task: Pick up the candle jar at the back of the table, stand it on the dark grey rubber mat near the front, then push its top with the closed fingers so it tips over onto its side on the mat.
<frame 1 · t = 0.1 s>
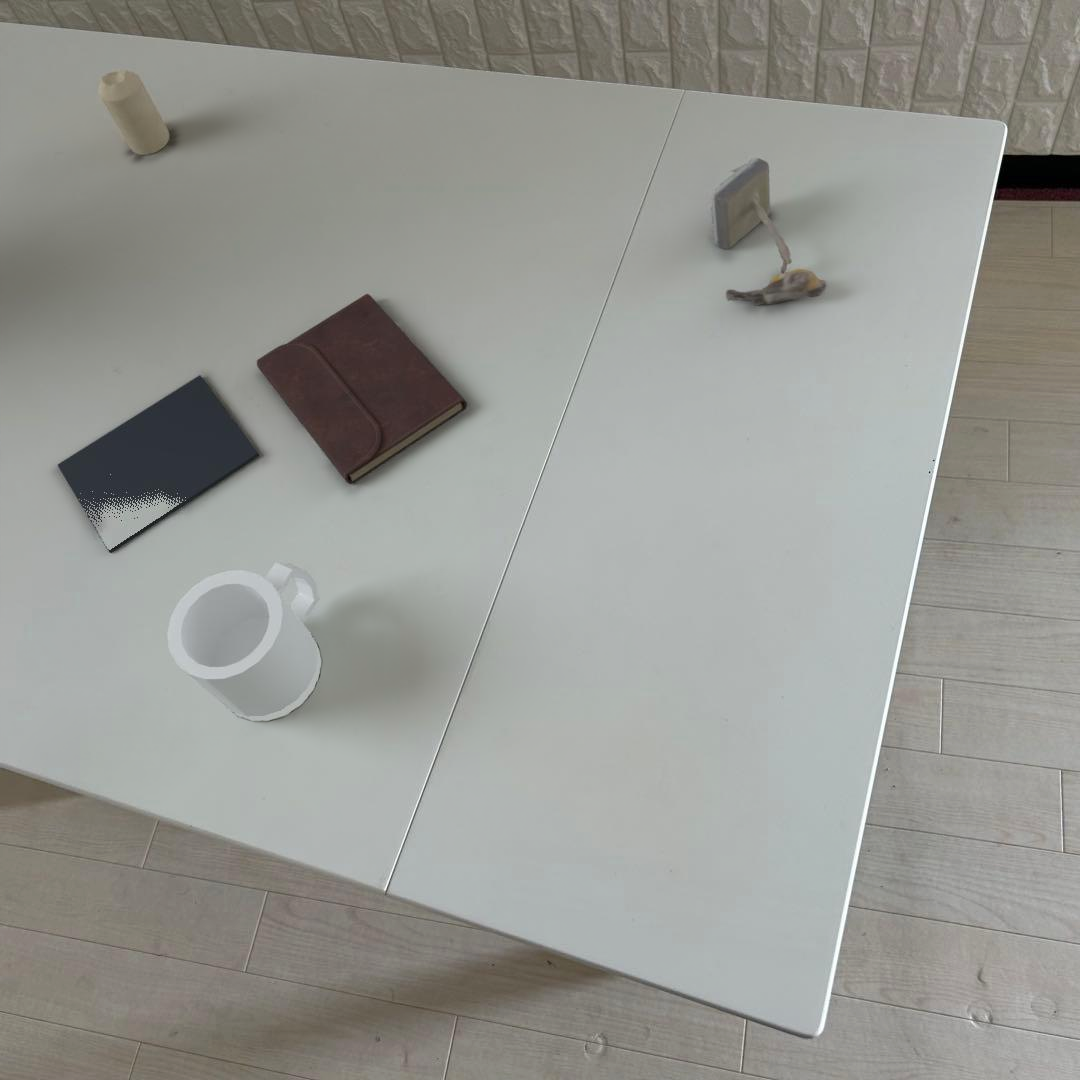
mat: (158, 461, 112), on the table
decorative sculpture: (756, 268, 114), on the table
notebook: (362, 390, 113), on the table
mug: (278, 661, 99), on the table
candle: (150, 142, 139), on the table
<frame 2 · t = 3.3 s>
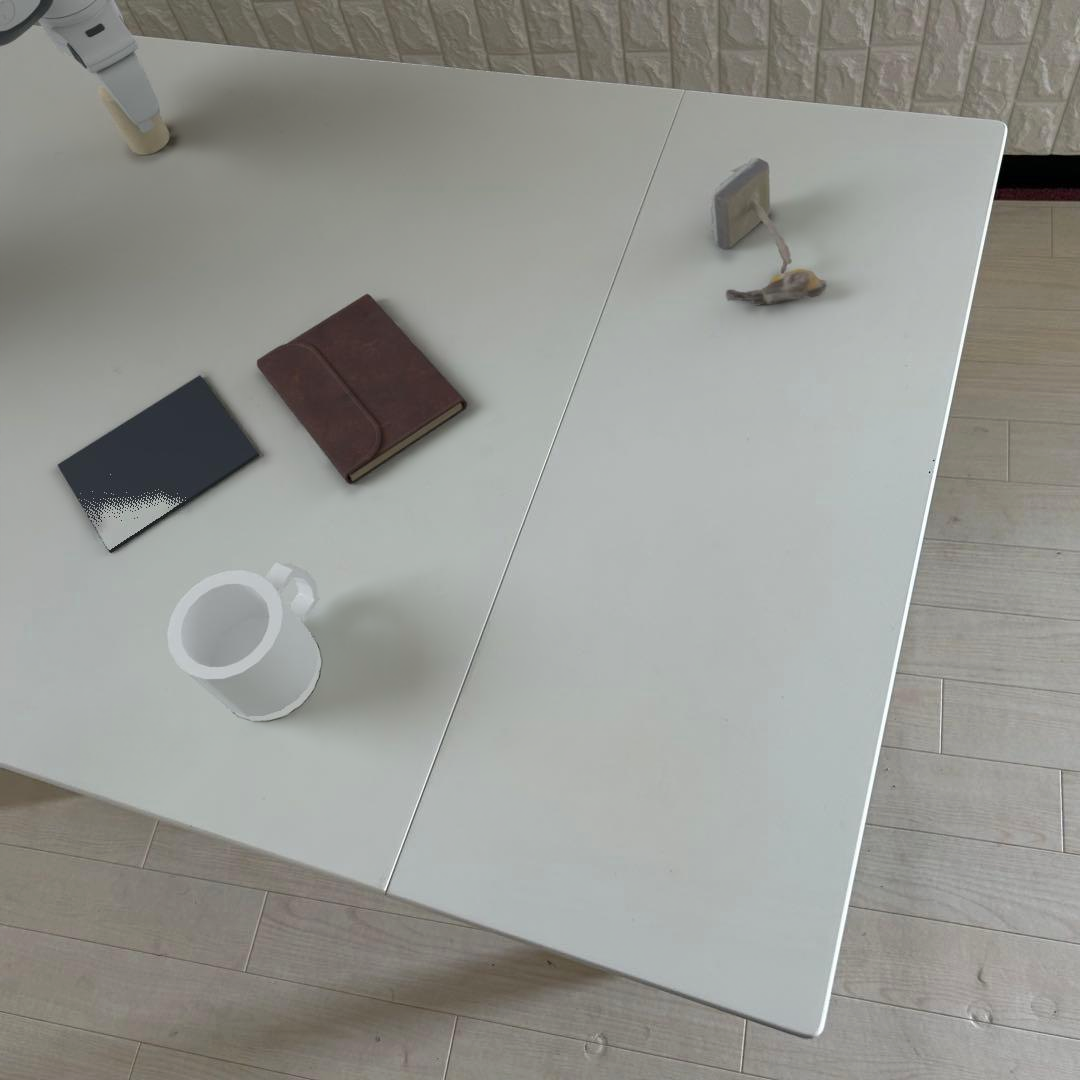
hand: (135, 115, 135), 4 cm above the table, tool pointing down, fingers closed on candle, 5 cm apart
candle: (150, 142, 139), on the table, touching gripper
everything else where it was.
when the fingers open (4 cm above the table, at t = 12.4 s): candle stays where it is, resting on mat.
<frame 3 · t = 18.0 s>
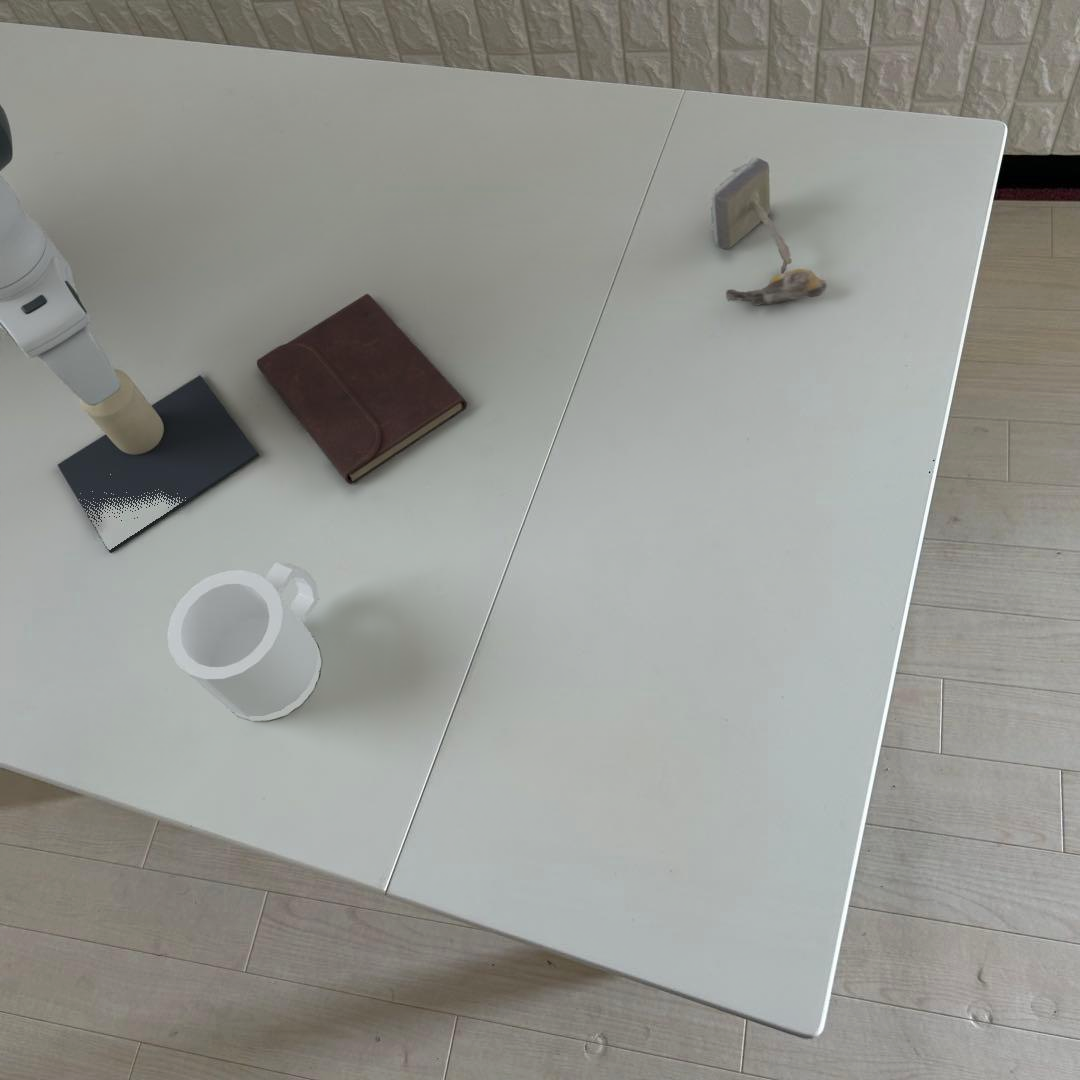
hand: (94, 371, 108), 8 cm above the table, tool pointing down, fingers closed
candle: (140, 433, 114), point 1 cm above the table, touching mat
everything else where it was.
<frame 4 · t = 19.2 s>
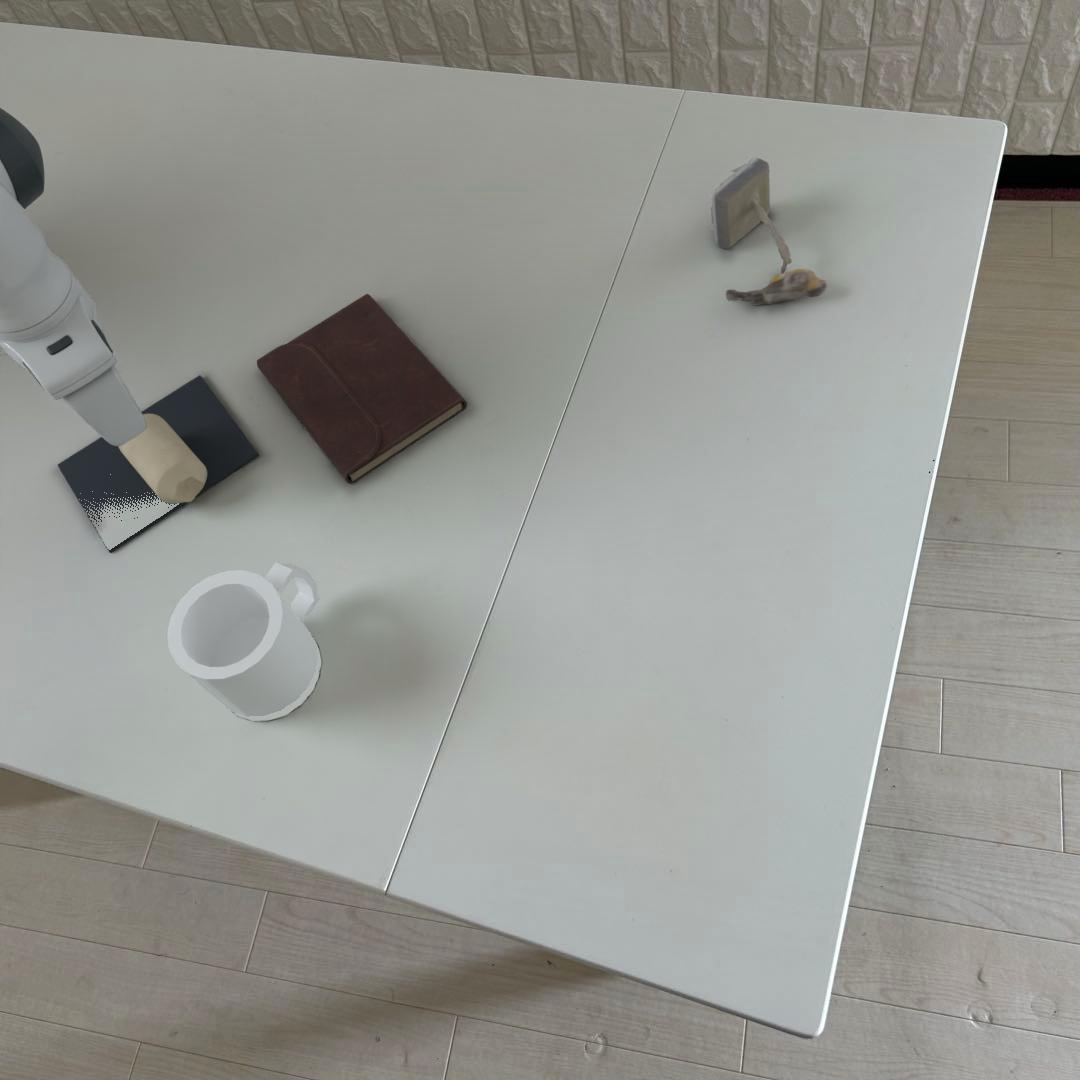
hand: (117, 407, 106), 8 cm above the table, tool pointing down, fingers closed
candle: (140, 433, 110), point 3 cm above the table, touching mat
everything else where it was.
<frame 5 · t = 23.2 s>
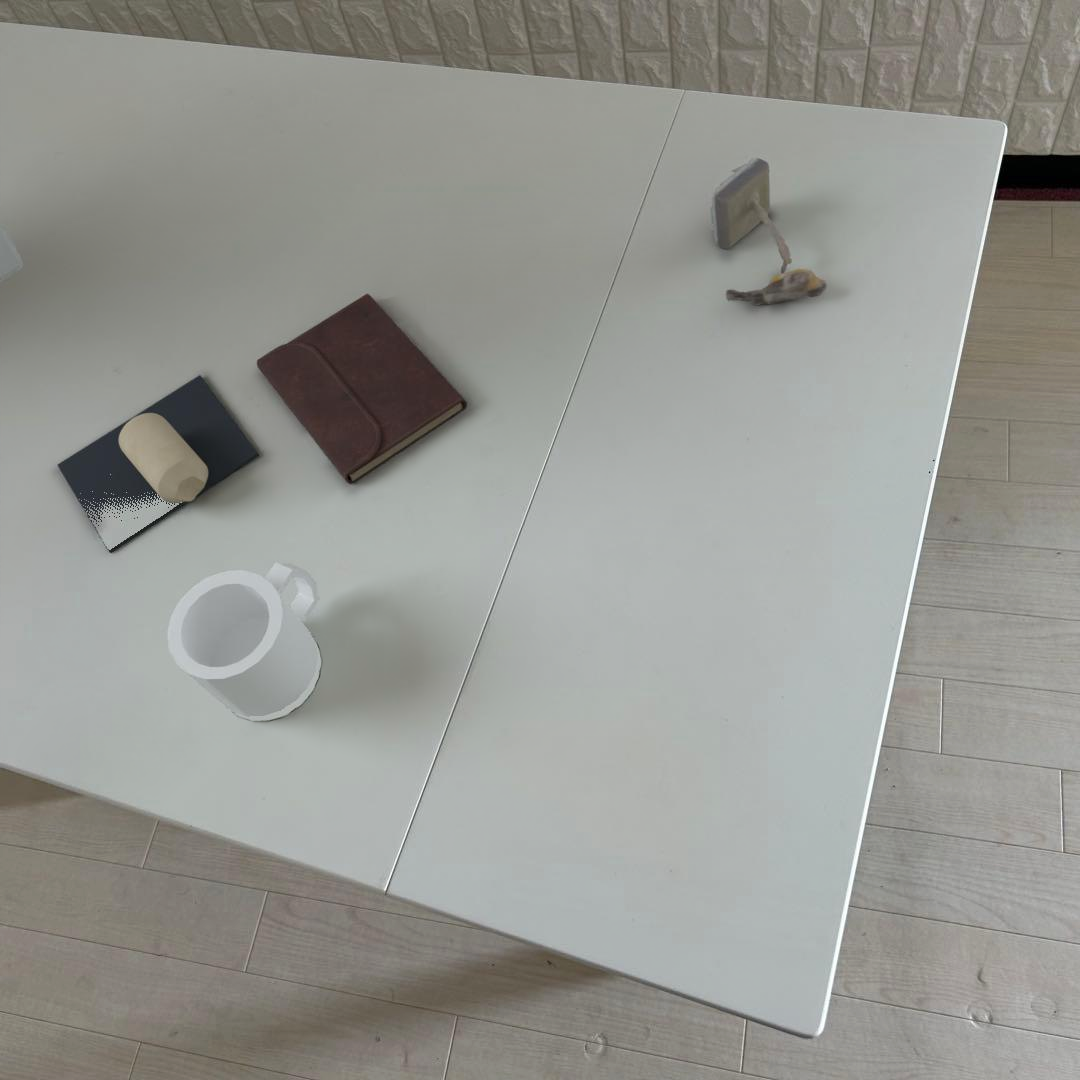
hand: (0, 257, 97), 23 cm above the table, tool pointing down, fingers closed
nothing on the table moved.
at the end: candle tilted 90°; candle inside the target area on the mat (1.7 cm from its centre), point 3.3 cm above the mat's base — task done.
